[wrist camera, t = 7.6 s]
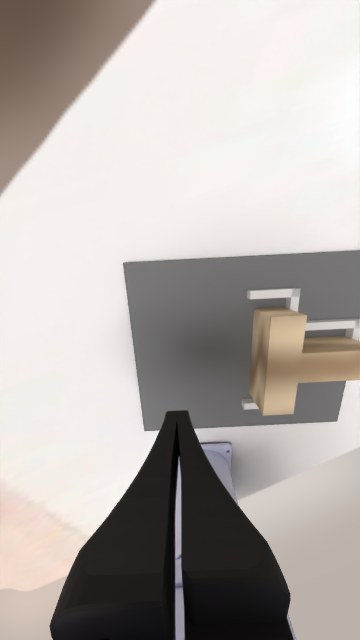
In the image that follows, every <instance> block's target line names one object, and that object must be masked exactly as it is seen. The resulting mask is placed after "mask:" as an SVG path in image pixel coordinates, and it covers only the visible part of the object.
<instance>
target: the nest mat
mask: <svg viewBox="0 0 360 640" xmlns="http://www.w3.org/2000/svg"><path fill="white" fill-rule="evenodd" d="M123 267H124V275H125V283H126V290H127V298H128V306H129V314H130V322H131V330H132V338H133V345H134V353H135V361H136V369H137V377H138V385H139V392H140V400H141V408H142V416H143V424H144V431H155V430H160V429H161V426H162V424H163V421H164V418H165V414H166V412H167V411H180V410H187V411H188V412H189V416H190V420H191V423H192V426H193V428H194V429H195V428H215V427H235V426H255V425H275V424H295V423H315V422H335V421H337V419H338V415H339V410H340V406H341V401H342V397H343V392H344V388H345V383H346V381H328V382H308V383H298V385H297V392H296V399H295V406H294V414H285V415H266V416H263V415H262V413H261V412H260V410H259V408H258V406H257V405H256V403H255V401H254V400H253V398H252V396H251V395H250V393H249V386H250V369H251V352H252V335H253V318H254V309H260V308H279V307H284V308H287V309H290V310H293V311H296V312H299V313H302V314H305V315H307V321H306V328H305V335H304V338H313V337H332V336H347V337H349V338H352V339H355V340H357V341H359V339H360V251H342V252H323V253H303V254H284V255H265V256H245V257H226V258H207V259H188V260H168V261H149V262H130V263H123Z"/></svg>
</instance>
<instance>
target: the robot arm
mask: <svg viewBox="0 0 360 640" xmlns="http://www.w3.org/2000/svg"><path fill="white" fill-rule="evenodd" d="M231 456H232V447H231V444H229V443H218V444H200V442H199V440H198V438H197V436H196V433H195V431H194V428H193V426H192V423H191V420H190V416H189V412H188V411H187V410H180V411H167V412H166V414H165V418H164V421H163V424H162V426H161V429H160V431H159V434H158V436H157V438H156V441H155V443H154V445H153V447H152V449H151V451H150V453H149V455H148V457H147V458H146V460H145V462H144V464H143V466H142V467H141V469H140V471H139V472H138V474H137V476H136V477H135V479H134V480H133V482H132V483H131V485H130V486H129V488H128V489H127V491H126V492H125V494H124V495H123V497H122V498H121V499H120V501H119V502H118V503H117V505H116V506H115V507H114V509H113V510H112V512H111V513H110V514H109V516H108V517H107V518H106V519H105V521H104V522H103V523H102V524H101V526H100V527H99V528H98V529H97V530H96V532H95V533H94V534H93V535H92V536H91V538H90V539H89V540H88V541H87V542H86V544H85V545H84V546H83V547H82V548H81V550H80V551H79V553H78V555H77V557H76V559H75V561H74V563H73V566H72V568H71V570H70V572H69V575H68V577H67V579H66V582H65V584H64V586H63V589H62V592H61V595H60V598H59V600H58V603H57V606H56V609H55V612H54V614H53V617H52V620H51V623H50V631H51V636H52V638H53V640H296V637H295V634H294V631H293V628H292V624H291V621H290V618H289V615H288V609H289V604H290V592H289V589H288V586H287V584H286V581H285V579H284V576H283V574H282V572H281V569H280V567H279V565H278V563H277V560H276V558H275V556H274V554H273V553H272V550H271V548H270V547H269V545H268V543H267V541H266V540H265V539H264V537H263V536H262V535H261V534H260V533H259V531H258V530H257V529H256V528H255V527H254V525H253V524H252V523H251V522H250V520H249V519H248V518H247V517H246V515H245V514H244V513H243V511H242V510H241V509H240V507H239V506H238V502H237V498H236V494H235V491H234V487H233V483H232V479H231Z"/></svg>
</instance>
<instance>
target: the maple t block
mask: <svg viewBox="0 0 360 640" xmlns="http://www.w3.org/2000/svg"><path fill="white" fill-rule="evenodd" d="M306 321H307V315H305V314H302V313H299V312H296V311H293V310H290V309H287V308H284V307H279V308H260V309H254V318H253V335H252V352H251V369H250V386H249V393H250V395H251V396H252V398H253V400H254V401H255V403H256V405H257V406H258V408H259V410H260V412H261V413H262V415H263V416H266V415H285V414H294V406H295V399H296V392H297V385H298V383H308V382H328V381H347V380H360V341H357V340H355V339H352V338H349V337H347V336H332V337H313V338H304V335H305V328H306Z"/></svg>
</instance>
